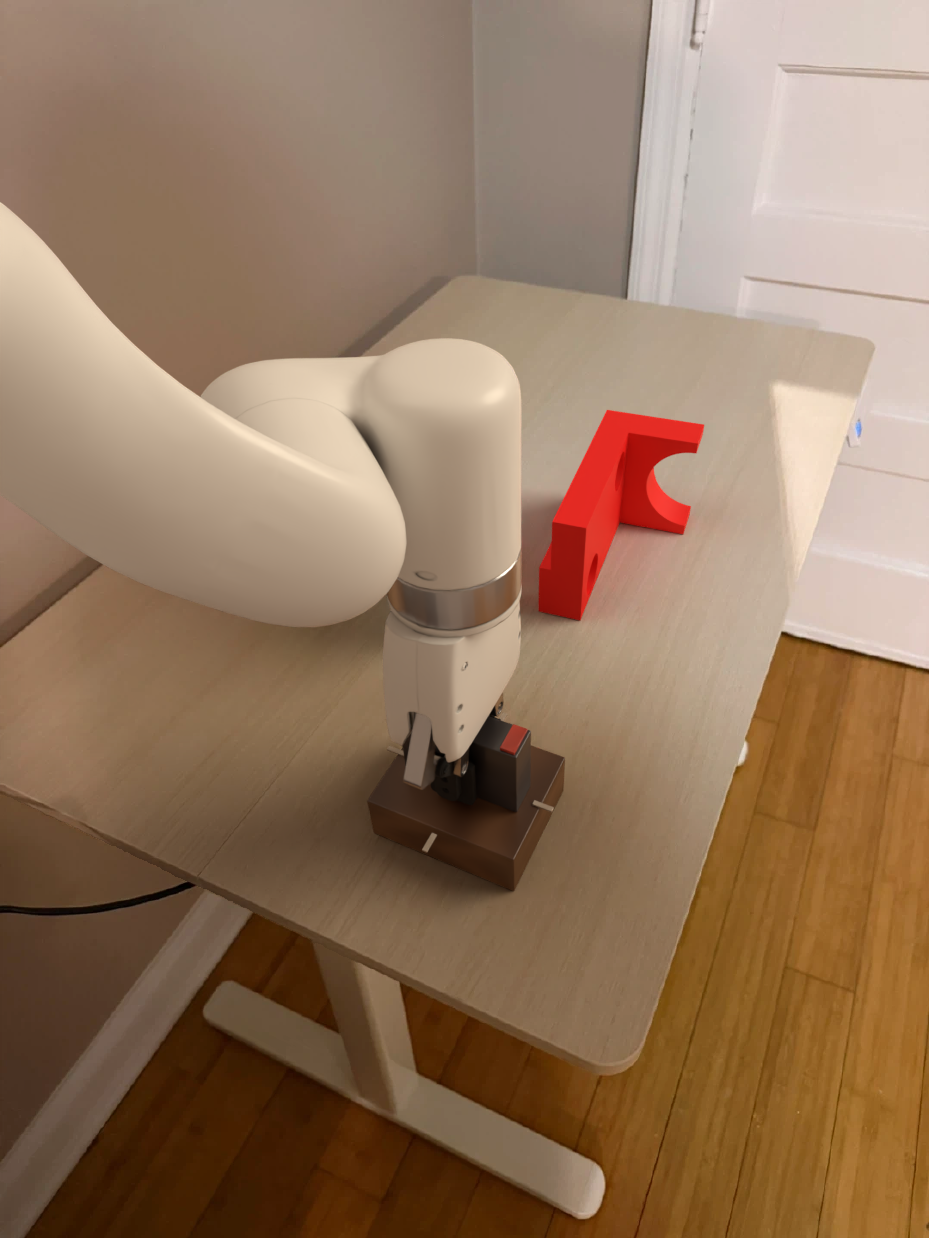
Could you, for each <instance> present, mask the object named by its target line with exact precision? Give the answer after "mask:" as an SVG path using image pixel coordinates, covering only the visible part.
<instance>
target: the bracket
mask: <svg viewBox="0 0 929 1238" xmlns="http://www.w3.org/2000/svg"><path fill="white" fill-rule="evenodd" d="M704 430H705V423H704V424H703V423H699V422H698V423H697V422H691V421H683V420H678V419H671V418H664V417H658V416H650V415H645V414H638V413H631V412H625V411H620V410H619V411H618V410H613V409H612V410H611V409H606V411H605V413H604V415H603V417H602V418H601V421H600V422H599V425H598V427H597V429H596V431H595V433H594V435H593V438H592V439H591V441H590V443H589V446H588V447H587V450H586V452H585V454H584V456H583V458H582V460H581V462H580V464H579V465H578V468H577V470H576V472H575V474H574V476H573V478H572V480H571V483H570V484H569V486H568V489H567V491H566V493H565V495H564V497H563V499H562V500H561V502H560V505H559V507H558V509H557V511H556V513H555V515H554V517H553V519H552V521H551V541H550V544H549V546H548V548H547V550H546V552H545V555H544V556H543V558H542V561H541V563H540V564H539V567H538V603H537V605H538V606H537V609H538V610H537V611H538V612H539V613H544V614H549V615H553V616H558V617H561V618H567V619H571V620H576V621H581V620H582V617H583V615H584V612H585V611H586V608H587V605H588V603H589V600H590V597H591V595H592V593H593V590H594V588H595V585H596V583H597V580H598V578H599V576H600V573H601V571H602V568H603V565H604V564H605V560H606V559H607V556H608V553H609V550H610V548H611V545H612V543H613V540H614V538H615V535H616V533H617V531H618V529H619V525H620V523H621V524H625V525H632V526H636V527H642V528H647V529H652V530H656V531H657V530H658V531H664V532H668V533H673V534H680V535H684V533H685V530H686V529H687V528H686V527H687V524H688V521H689V518H690V514H691V510H692V509H691V508H692V505H688V504H685V503H682V502H679V501H677V500H676V499H673V498H672V497H670V496H669V495H668V494H667V493H666V492H665V491H664V490H663V489H662V488H661V486H660V484H659V483H658V481H657V478H656V474H655V467H656V466H657V465H658V464H659V463H660V462H662V461H663V460H664V459H667V458H669V457H671V456H674V455H679V454H697V453H698V450H699V448H700V445H701V441H702V438H703V436H704Z"/></svg>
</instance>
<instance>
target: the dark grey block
mask: <svg viewBox="0 0 929 1238" xmlns="http://www.w3.org/2000/svg"><path fill="white" fill-rule="evenodd" d="M495 718H496V717H495ZM495 718H493V717H490V716H488V717H487V719H486V721H485V722H484V724H483V726H482V727H481V729H480V730H479V732H478V734H477V735H476V737H475V739H474V740H473V742H472V743H471V745H470V746H469V761H470V762H472V763H473V764H474V765H475V779H476V795H477V797H478V798H480V799H483V800H485V801H488V802H491V803H493V804H496V805H498V806H501V807H504V808H506V809H509V810H511V811H514V812H517V811H518V809H519V807H520V805H521V803H522V801H523V799H524V797H525V796H526V794H527V792H528V790H529V788H530V777H531V746H532V730H530V729H528V728H526V727H523V726H520V725H517V724H515V723H511V722H507V721H505V720H504V721H501V720H498V719H499V718H498V719H495ZM411 734H412V732H411ZM411 734H410V735H409V737H408V738H407V740H406V741H405V743H404V744H403V746H402V747H403V753H404V760H405V767H406V761H407V756H408V750H409V745H410V739H411Z"/></svg>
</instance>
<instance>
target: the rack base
mask: <svg viewBox="0 0 929 1238" xmlns="http://www.w3.org/2000/svg"><path fill="white" fill-rule="evenodd" d="M507 716H508V713H507V712H504V711H503V712H501V714H500V715H499V718H498V719H501V721H504V722H505V720H506V718H507ZM386 751H388V752H390V753H393V754H395V755H396V757H394V759H393V761H392V762H391V764H390V765H389V767H388V768H387V770H386V771H385V773H384V775H383V776H382V777H381V779H380V780H379V782H378V783H377V785H376V786H375V787H374V789H373V791H372V792H371V793H370V795H369V797H368V799H367V800H366V803H367V807H368V808H367V809H368V812H369V813H368V814H369V817H370V823H371V827H372V832H373V833H374V834H376V835H378V836H380V837H383V838H385V839H388V840H389V841H392V842H395V843H396V844H400V845H402V846H404V847H407V848H409V849H411V850H414V851H416V852H419V853H420V854H424V855H426V856H428V857H431V858H434V859H436V860H438V861H441V862H443V863H445V864H447V865H450V866H452V867H455V868H457V869H459V870H462V871H465V872H467V873H469V874H472V875H474V876H476V877H479V878H480V879H483V880H486V881H488V882H490V883H493V884H495V885H498V886H500V887H503V888H505V889H507V890H510V891H512V892H514V891H516V889H517V886H518V884H519V883H520V881H521V878H522V876H523V874H524V872H525V870H526V868H527V866H528V864H529V862H530V860H531V858H532V856H533V854H534V852H535V850H536V849H537V845H538V844H539V841H540V839H541V837H542V835H543V833H544V831H545V829H546V827H547V825H548V823H549V821H550V819H551V817H552V815H553V813H554V811H555V809H556V807H557V805H558V803H559V800H560V799H561V797H562V794H563V792H564V784H565V769H566V757H565V756H562V755H561V754H557V753H554V752H551V751H548V750H546V749H542V748H540V747H536V746H533V745H531V777H530V788H529V790H528V792H527V794H526V796H525V797H524V799H523V801H522V803H521V805H520V807H519V809H518V811H517V812H514V811H511V810H509V809H506V808H504V807H501V806H498V805H496V804H493V803H491V802H488V801H485V800H483V799H480V798H478V797H477V798H476V800H475V802H474V804H473V805H468V804H465V803H463V802H460V801H458V800H456V801H450V800H447V799H444V798H442V797H441V796H439V795H438V794H437V792H435V791H433V790H432V788H431V785H430V784H429V785H428V786H427V787H426V788H425V789H423V790H421V789H419V788H416V787H413V786H411V785H408V784H406V783H404V782H403V778H404V773H405V760H404V753H403V746H401V749H400V748H397V747H394V746H392V745H388V746H387V748H386Z"/></svg>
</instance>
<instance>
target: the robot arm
mask: <svg viewBox="0 0 929 1238" xmlns="http://www.w3.org/2000/svg"><path fill="white" fill-rule="evenodd" d="M0 497H2V498H3V499H5V500H6V501H8V502H9V503H11V504H12V505H14V506H15V507H17V509H19V510H21V511H23V512H24V513H25V514H27V515H28V516H29V517H31V518H32V519H34V520H35V521H36V522H37V523H39V524H40V525H41V526H43V527H44V528H46V530H49V531H50V532H52V533H53V534H54V535H56V536H57V537H58V538H59V539H61V540H63V541H64V542H66V543H67V544H69V545H70V546H72V547H73V548H75V549H77V550H78V551H80V552H81V553H83V554H84V555H86V556H87V557H89V558H91V559H93V560H95V561H96V562H98V563H100V564H101V565H103V566H105V567H107V568H108V569H110V570H111V571H114V572H116V573H119V574H120V575H122V576H124V577H126V578H129V579H131V580H133V581H134V582H137V583H138V584H142V585H145V586H147V587H149V588H152V589H155V590H157V591H160V592H162V593H165V594H168V595H171V596H174V597H177V598H180V599H182V600H186V601H189V602H192V603H195V604H198V605H202V606H204V607H207V608H209V609H214V610H216V611H219V612H222V613H226V614H230V615H233V616H237V617H239V618H243V619H247V620H251V621H255V622H259V623H262V624H267V625H275V626H280V627H281V626H282V627H290V628H317V627H327V626H331V625H335V624H339V623H343V622H346V621H350V620H351V619H354V618H356V617H358V616H360V615H362V614H364V613H366V612H367V611H368V610H370V609H371V608H373V607H374V606H375V605H377V604H378V603H379V602H380V601H381V600H382V599H383V598H384V597H385V596H386V600H387V604H388V606H389V610H390V611H389V613H388V615H387V617H386V619H385V625H384V634H383V646H382V647H383V648H382V683H383V698H384V699H383V700H384V711H385V720H386V727H387V732H388V736H389V739H390V741H391V742H393V743H394V744H397V745H399V746H401V747H403V744H404V743H405V741H406V740H407V738H408V737H409V735H410V734H411V732H412V734H411V739H410V745H409V750H408V756H407V761H406V767H405V773H404V778H403V782H404V783H406V784H408V785H411V786H413V787H416V788H419V789H421V790H423V789H425V788H426V787H427V786H428V785H429V784H430V785H431V788H432V790H433V791H435V792H437V794H438V795H439V796H441V797H442V798H444V799H447V800H450V801H456V800H458V801H460V802H463V803H465V804H468V805H473V804H474V802H475V800H476V798H477V795H476V779H475V765H474V764H473V763H472V762H470V761H469V746H470V745H471V743H472V742H473V740H474V739H475V737H476V735H477V734H478V732H479V730H480V729H481V727H482V726H483V724H484V722H485V721H486V719H487V717H488V716H490V717H493V718H495V719H498V720H501V719H499V718H498V717H500V716H501V715H502V711H503V709H504V705H505V704H504V703H505V701H504V693H503V692H504V690H505V689H506V687H507V685H508V684H509V682H510V680H511V678H512V676H513V674H514V673H515V671H516V668H517V666H518V663H519V660H520V654H521V647H522V645H521V641H522V625H521V624H522V623H521V621H522V620H521V604H520V601H521V597H522V591H523V589H522V585H523V583H522V580H523V579H522V577H523V576H522V575H523V574H522V573H523V572H522V571H523V570H522V569H523V567H522V566H523V565H522V564H523V563H522V562H523V561H522V560H523V557H522V555H523V553H522V551H523V550H522V549H523V548H522V547H523V545H522V391H521V384H520V380H519V378H518V376H517V374H516V371H515V369H514V366H512V365H511V363H510V362H509V360H508V359H506V357H505V356H504V355H502V354H501V353H500V352H498V351H497V350H495V349H494V348H492V347H489V346H488V345H485V344H484V343H480V342H477V341H473V340H469V339H464V338H463V339H462V338H453V337H452V338H451V337H448V338H447V337H439V338H428V339H421V340H417V341H413V342H409V343H408V342H407V343H406V344H403V345H400V346H398V347H396V348H394V349H391V350H389V351H388V352H386V353H383V354H381V355H368V356H349V357H347V356H346V357H294V358H293V357H290V358H289V357H288V358H274V359H263V360H258V361H253V362H248V363H245V364H241V365H239V366H236V367H234V368H232V369H229V370H227V371H226V372H223V373H222V374H220V375H219V376H218V377H216V378H215V379H214V380H213V381H212V382H210V383H209V384H208V385H207V386H206V388H205V389H204V390H203V392H202V393H201V395H198V394H197V393H195V392H194V391H192V390H191V389H190V388H187V387H186V386H185V385H183V383H181V382H180V381H178V380H177V379H176V378H174V377H173V376H172V375H171V374H169V373H168V371H165V370H164V369H163V368H162V367H161V366H159V365H158V364H157V363H156V362H155V361H154V360H153V359H151V358H150V357H149V356H148V355H147V354H146V353H144V352H143V351H142V350H141V349H140V348H138V346H136V344H134V343H133V342H132V341H131V340H130V338H128V337H127V336H126V335H125V334H124V333H123V332H122V331H121V330H120V329H119V328H118V327H117V326H116V325H115V324H114V323H113V322H112V321H111V320H110V319H109V318H108V317H107V315H106V314H105V313H104V312H103V311H102V309H101V308H99V306H98V305H97V304H96V303H95V302H94V300H93V299H92V298H91V297H90V295H88V293H87V292H86V291H85V290H84V287H82V286H81V285H80V283H79V282H78V281H77V279H76V278H75V277H74V275H72V273H71V272H70V271H69V269H68V268H67V267H66V265H64V264H63V262H62V260H60V259H59V257H58V256H57V255H56V254H55V252H54V251H53V250H52V249H51V248H50V247H49V245H47V243H46V242H45V241H44V240H43V239H42V238H41V237H40V236H39V235H38V234H37V233H36V232H35V231H34V230H33V229H32V228H31V227H30V226H29V225H28V224H27V223H25V222H24V220H23V219H21V218H20V217H19V216H18V215H17V214H16V213H15V212H14V211H12V210H11V209H10V208H9V207H8V206H6V205H5V204H4V203H2V202H1V201H0Z"/></svg>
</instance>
